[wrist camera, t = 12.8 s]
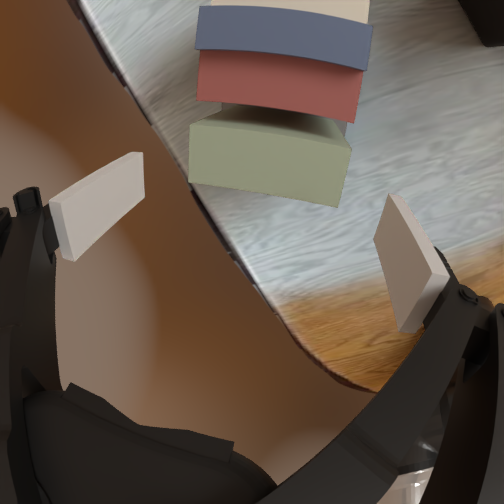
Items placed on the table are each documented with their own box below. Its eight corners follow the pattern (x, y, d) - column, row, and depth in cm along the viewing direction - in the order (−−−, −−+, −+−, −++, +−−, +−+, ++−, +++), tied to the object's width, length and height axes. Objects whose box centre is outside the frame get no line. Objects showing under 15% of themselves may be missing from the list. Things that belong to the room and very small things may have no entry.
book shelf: (331, 183, 32) (344, 255, 20) (221, 164, 33) (169, 223, 21) (363, -6, 18) (402, -57, 7) (240, -22, 20) (192, -78, 8)
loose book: (326, 156, 29) (337, 207, 18) (232, 140, 29) (188, 182, 19) (333, 120, 26) (351, 149, 16) (236, 105, 27) (189, 124, 17)
